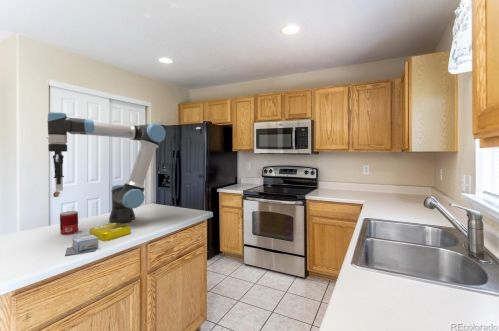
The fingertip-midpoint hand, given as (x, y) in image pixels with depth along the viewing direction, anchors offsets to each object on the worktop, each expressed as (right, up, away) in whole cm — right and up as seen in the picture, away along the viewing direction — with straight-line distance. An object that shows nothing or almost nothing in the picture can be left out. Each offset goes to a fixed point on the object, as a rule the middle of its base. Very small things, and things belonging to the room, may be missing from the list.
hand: (59, 190), depth 127 cm
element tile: (+22, -25, +8) cm, 34 cm away
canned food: (-2, -24, +11) cm, 26 cm away
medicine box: (+17, -22, -9) cm, 30 cm away
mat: (+20, -25, -14) cm, 35 cm away
